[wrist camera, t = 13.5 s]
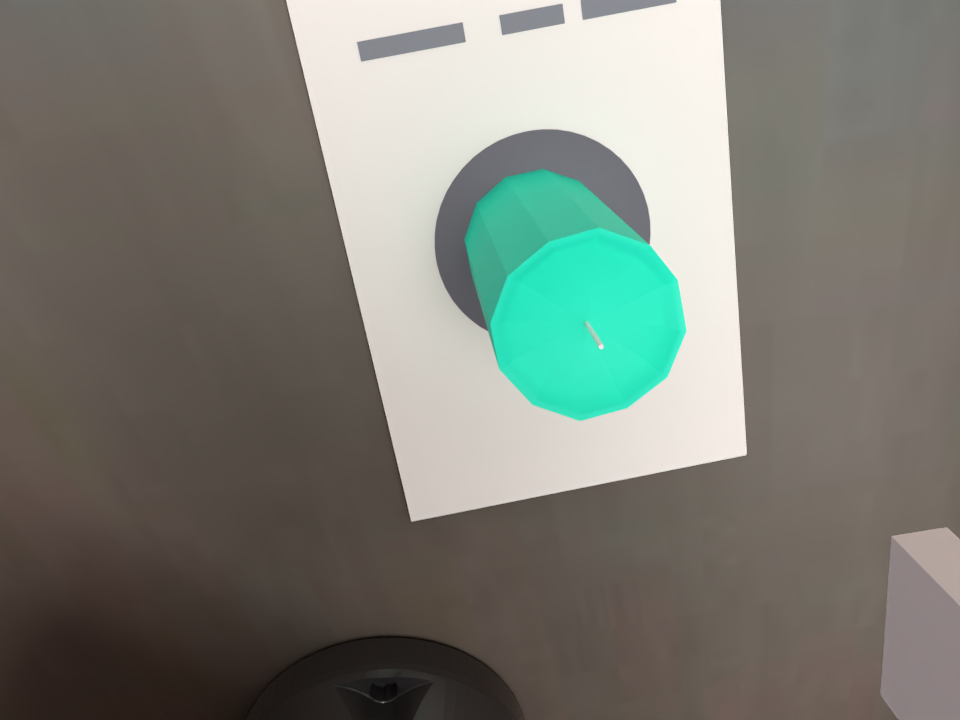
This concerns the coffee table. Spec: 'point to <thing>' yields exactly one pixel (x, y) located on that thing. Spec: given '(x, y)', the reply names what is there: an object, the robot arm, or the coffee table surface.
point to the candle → (571, 296)
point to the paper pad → (478, 169)
